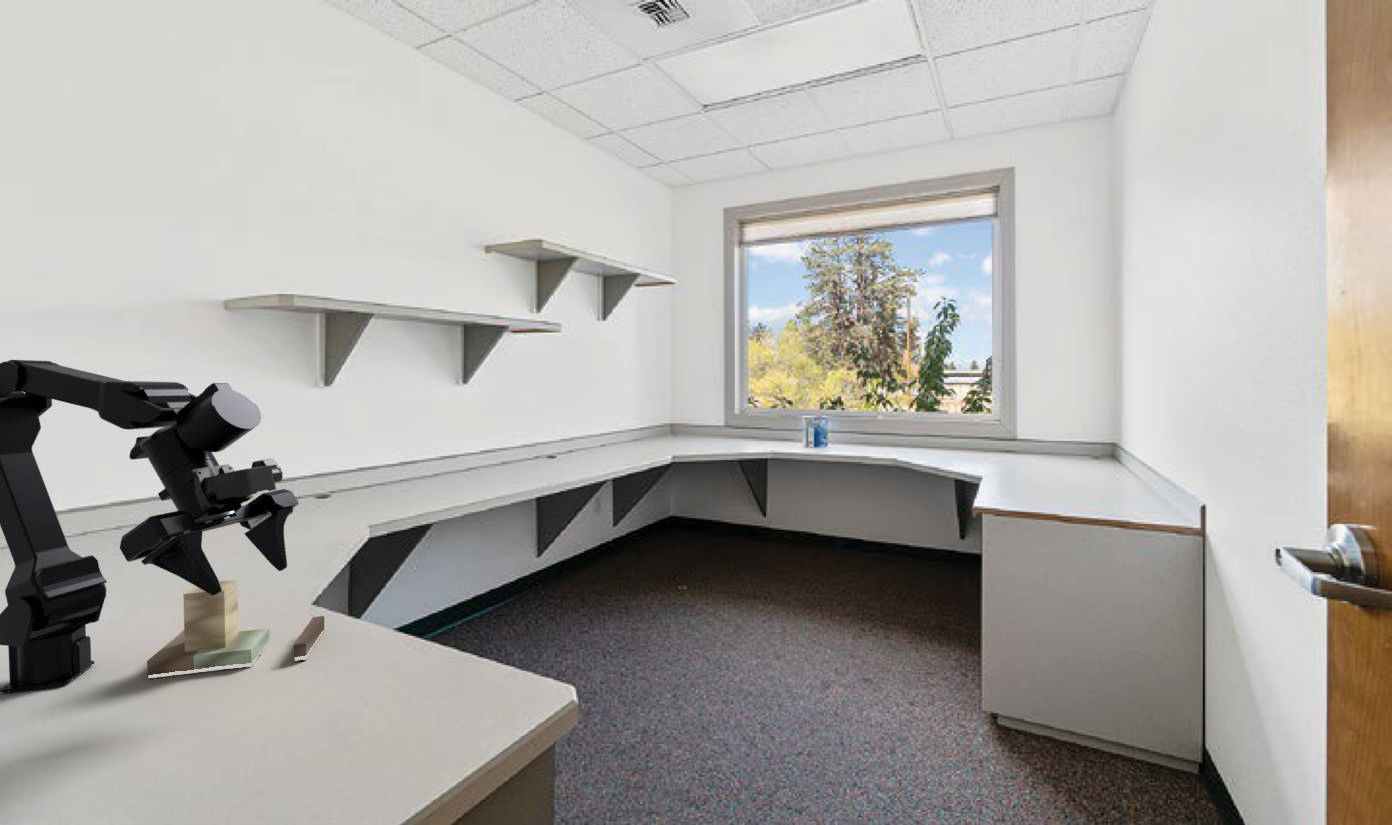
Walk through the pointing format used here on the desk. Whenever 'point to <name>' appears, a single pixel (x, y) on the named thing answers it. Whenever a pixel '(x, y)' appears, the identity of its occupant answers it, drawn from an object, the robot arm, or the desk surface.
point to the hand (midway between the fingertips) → (252, 580)
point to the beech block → (210, 617)
